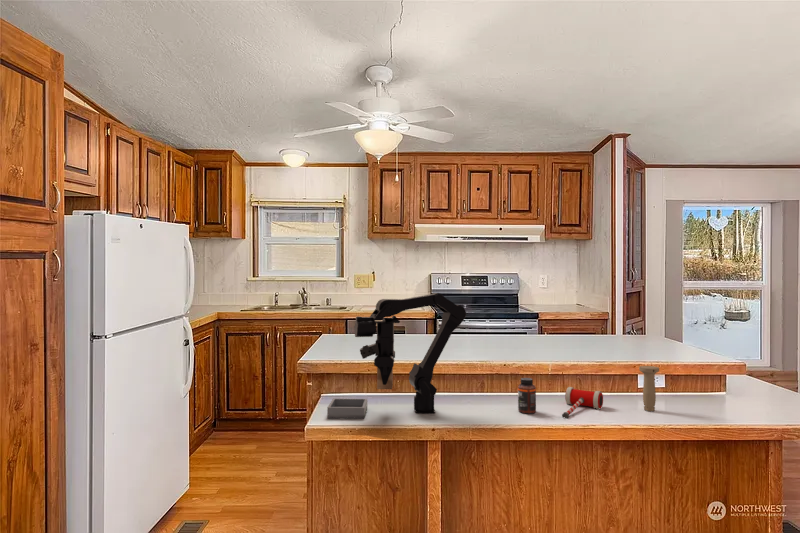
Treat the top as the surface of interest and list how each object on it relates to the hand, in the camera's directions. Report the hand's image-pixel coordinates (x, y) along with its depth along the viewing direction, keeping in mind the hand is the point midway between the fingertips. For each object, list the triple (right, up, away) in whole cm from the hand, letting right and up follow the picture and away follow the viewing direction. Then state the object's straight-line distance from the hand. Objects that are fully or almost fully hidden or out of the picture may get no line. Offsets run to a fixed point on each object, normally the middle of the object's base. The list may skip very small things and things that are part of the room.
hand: (384, 382), depth 167 cm
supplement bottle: (+49, -11, +3) cm, 50 cm away
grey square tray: (-12, -10, 0) cm, 16 cm away
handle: (+92, -11, +5) cm, 92 cm away
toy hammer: (+68, -11, +6) cm, 69 cm away
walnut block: (0, -2, 0) cm, 2 cm away
